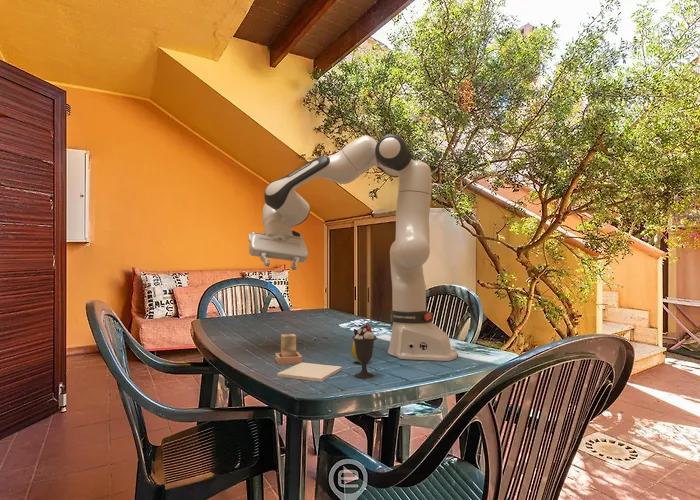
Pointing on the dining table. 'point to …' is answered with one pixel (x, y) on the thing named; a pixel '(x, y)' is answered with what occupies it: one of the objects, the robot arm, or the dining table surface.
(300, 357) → the sleeve holder
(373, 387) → the dining table surface
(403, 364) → the dining table surface
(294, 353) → the birch post
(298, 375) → the tile
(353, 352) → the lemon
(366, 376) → the sundae
